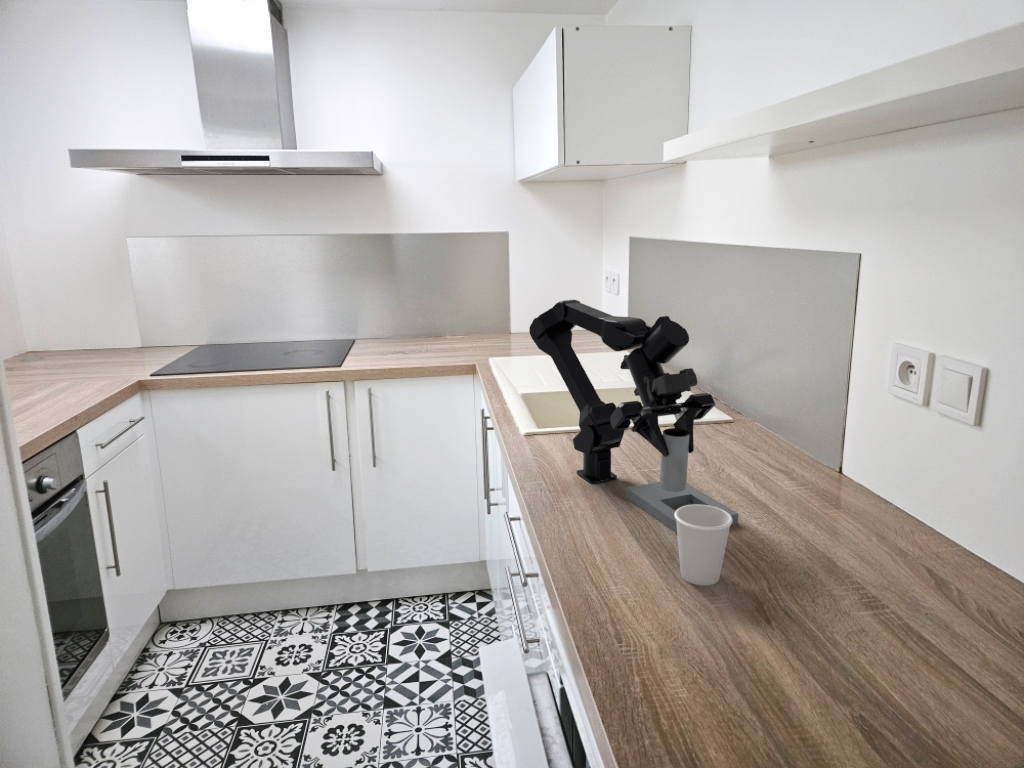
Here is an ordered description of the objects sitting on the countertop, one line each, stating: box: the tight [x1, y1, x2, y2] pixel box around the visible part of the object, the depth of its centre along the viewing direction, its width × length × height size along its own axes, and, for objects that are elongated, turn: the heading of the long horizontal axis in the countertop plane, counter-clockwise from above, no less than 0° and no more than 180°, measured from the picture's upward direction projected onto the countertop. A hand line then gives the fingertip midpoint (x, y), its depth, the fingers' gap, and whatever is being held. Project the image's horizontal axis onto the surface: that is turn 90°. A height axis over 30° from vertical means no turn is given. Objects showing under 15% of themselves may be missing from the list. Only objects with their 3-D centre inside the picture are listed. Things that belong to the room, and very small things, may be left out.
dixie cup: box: [674, 504, 733, 587], centre depth 103 cm, size 8×8×10 cm
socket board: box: [625, 481, 739, 534], centre depth 127 cm, size 18×12×2 cm, turn 22°
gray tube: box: [659, 427, 690, 492], centre depth 120 cm, size 4×4×10 cm
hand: (679, 453), depth 118 cm, fingers closed on gray tube, 4 cm apart
